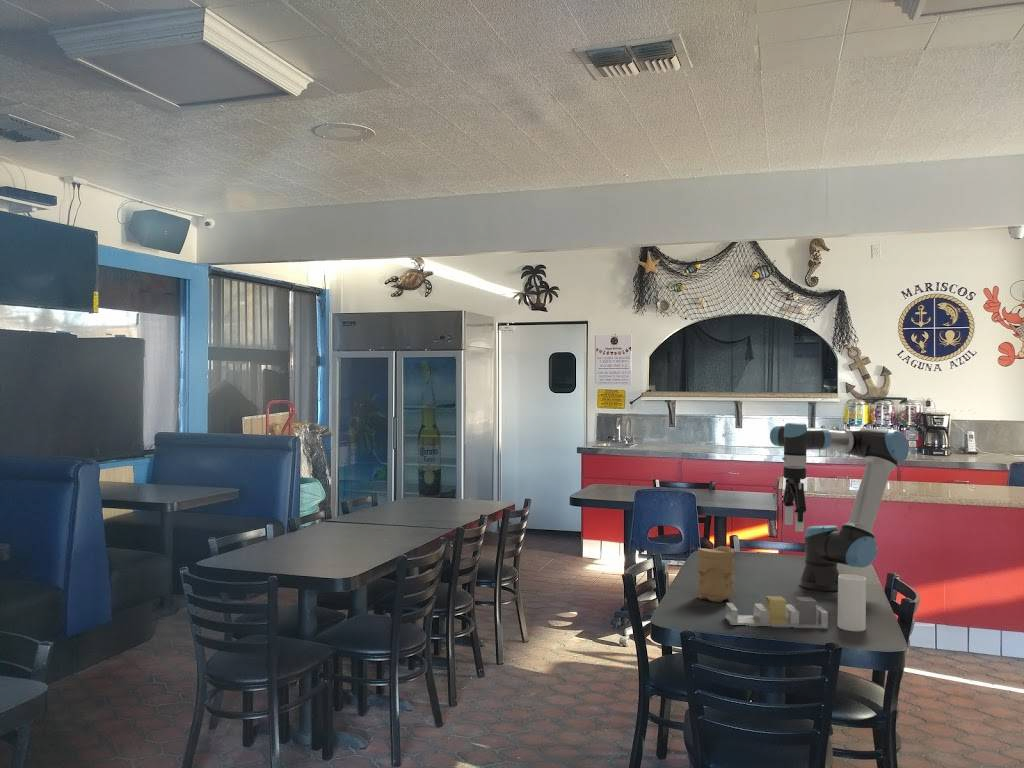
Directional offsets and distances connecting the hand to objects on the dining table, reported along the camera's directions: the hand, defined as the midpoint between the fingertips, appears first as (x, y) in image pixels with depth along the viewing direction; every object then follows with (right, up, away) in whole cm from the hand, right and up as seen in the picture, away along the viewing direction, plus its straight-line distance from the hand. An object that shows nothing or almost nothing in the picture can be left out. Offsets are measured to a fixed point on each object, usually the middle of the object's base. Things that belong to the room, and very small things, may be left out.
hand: (793, 528), depth 295 cm
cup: (+9, -27, -28) cm, 40 cm away
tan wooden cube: (-14, -26, -24) cm, 37 cm away
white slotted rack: (-14, -27, -24) cm, 38 cm away
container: (-26, -27, +6) cm, 38 cm away
